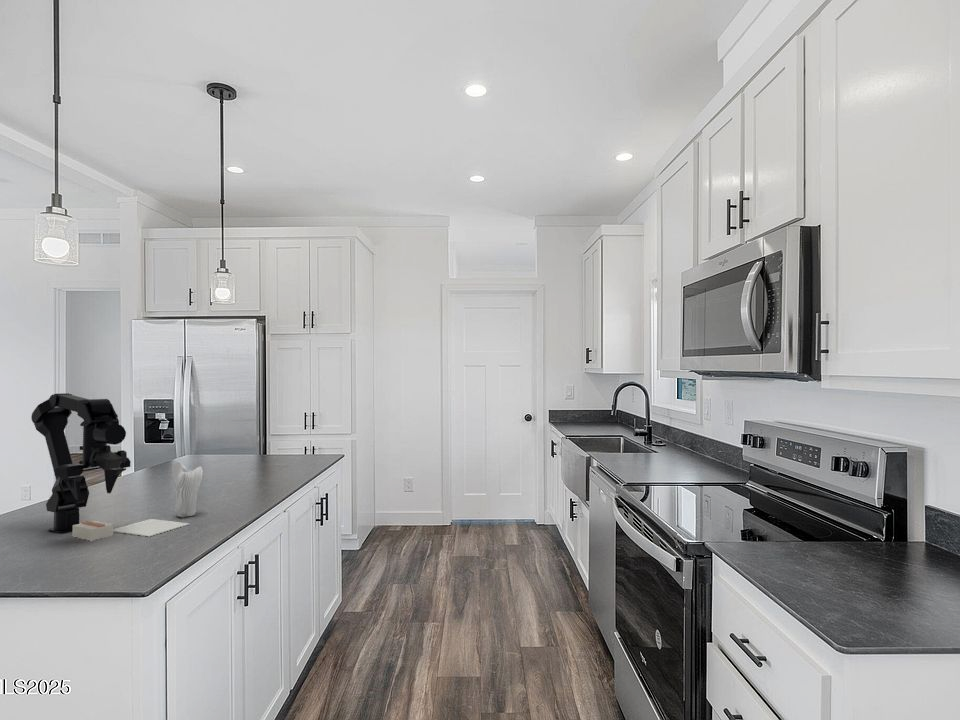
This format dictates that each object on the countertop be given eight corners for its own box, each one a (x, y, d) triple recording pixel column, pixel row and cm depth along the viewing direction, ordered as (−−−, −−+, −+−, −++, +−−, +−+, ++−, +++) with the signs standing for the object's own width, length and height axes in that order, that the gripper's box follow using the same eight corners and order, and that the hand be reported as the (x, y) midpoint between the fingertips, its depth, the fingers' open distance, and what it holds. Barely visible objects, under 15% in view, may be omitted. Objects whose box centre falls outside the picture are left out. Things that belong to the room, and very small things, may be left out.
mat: (109, 531, 166) (109, 530, 166) (151, 520, 179) (151, 518, 179) (149, 537, 161) (149, 535, 161) (189, 524, 174) (189, 523, 174)
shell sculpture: (204, 515, 185) (205, 461, 185) (177, 520, 179) (178, 464, 179) (194, 511, 191) (195, 458, 191) (168, 515, 185) (169, 461, 185)
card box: (72, 537, 160) (72, 523, 161) (94, 532, 166) (94, 519, 166) (91, 542, 157) (91, 527, 157) (113, 536, 162) (113, 522, 162)
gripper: (82, 447, 151) (80, 505, 150) (144, 440, 168) (143, 492, 168) (53, 445, 154) (52, 502, 154) (117, 438, 172) (116, 489, 171)
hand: (93, 496), depth 162 cm, fingers open, 9 cm apart
